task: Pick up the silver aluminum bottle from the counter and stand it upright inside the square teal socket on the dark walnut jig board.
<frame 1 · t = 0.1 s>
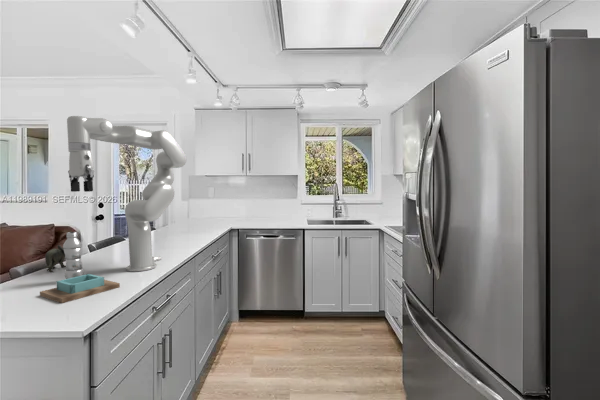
hand: (81, 191, 141), 37 cm above the countertop, tool pointing down, fingers open, 9 cm apart
dinosaur figurine: (54, 270, 165), on the countertop
walnut jig board: (81, 291, 131), on the countertop
silver aluminum bottle: (74, 281, 145), on the countertop
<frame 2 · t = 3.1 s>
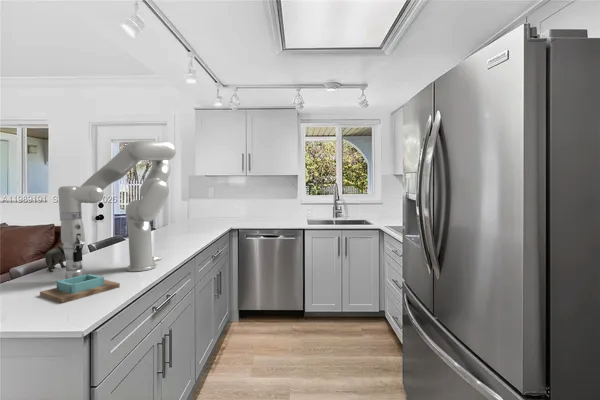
hand: (73, 260, 144), 9 cm above the countertop, tool pointing down, fingers closed on silver aluminum bottle, 6 cm apart
silver aluminum bottle: (74, 281, 145), on the countertop, touching gripper
everything else where it was.
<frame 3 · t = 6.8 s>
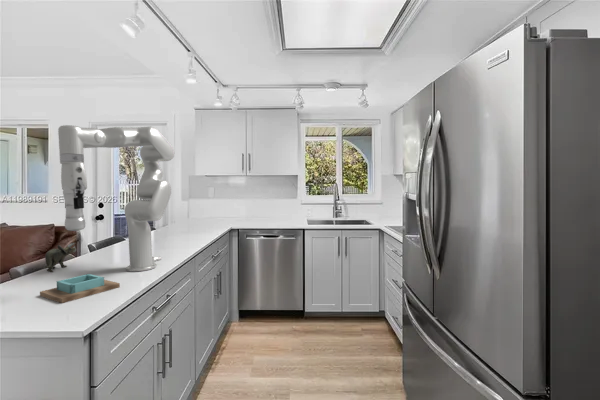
hand: (74, 207, 132), 31 cm above the countertop, tool pointing down, fingers closed on silver aluminum bottle, 6 cm apart
silver aluminum bottle: (75, 231, 132), point 22 cm above the countertop, touching gripper
everything else where it was.
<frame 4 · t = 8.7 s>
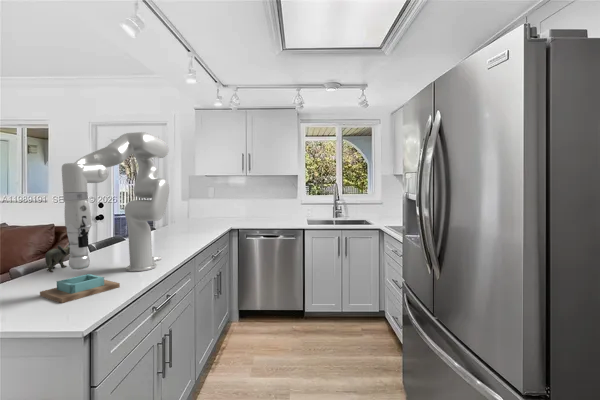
hand: (78, 245, 130), 17 cm above the countertop, tool pointing down, fingers closed on silver aluminum bottle, 6 cm apart
silver aluminum bottle: (79, 269, 130), point 8 cm above the countertop, touching gripper
everything else where it was.
when the fingers open (11 cm above the countertop, at t = 10.3 s): silver aluminum bottle drops 1 cm, resting on walnut jig board.
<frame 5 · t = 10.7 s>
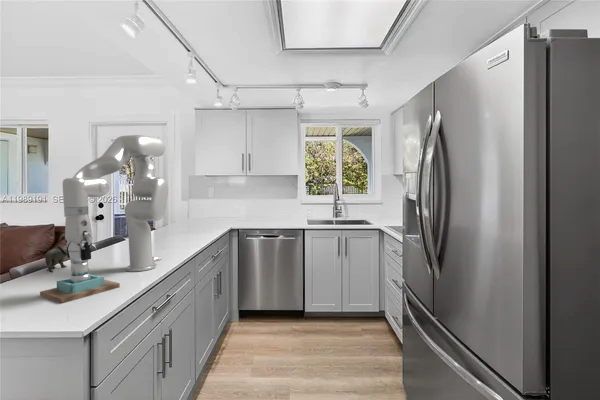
hand: (79, 258, 130), 12 cm above the countertop, tool pointing down, fingers open, 9 cm apart
silver aluminum bottle: (80, 287, 131), point 1 cm above the countertop, touching walnut jig board
everything else where it was.
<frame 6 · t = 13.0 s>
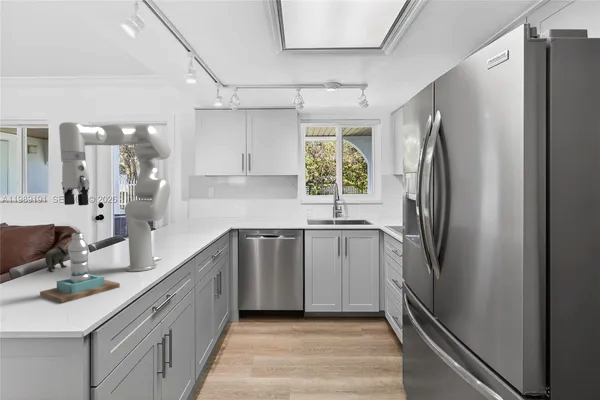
hand: (76, 204, 129), 32 cm above the countertop, tool pointing down, fingers open, 9 cm apart
nothing on the countertop moved.
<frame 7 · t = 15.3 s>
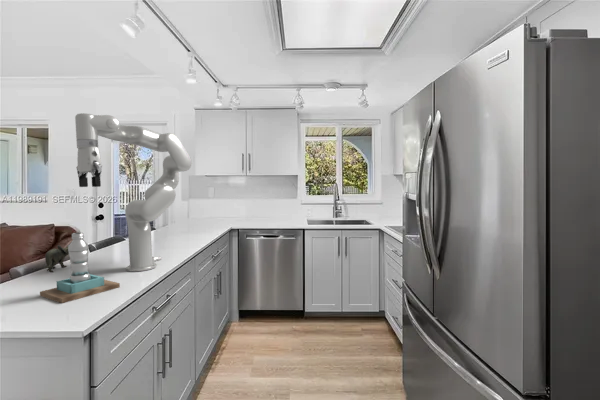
hand: (89, 186, 146), 38 cm above the countertop, tool pointing down, fingers open, 9 cm apart
nothing on the countertop moved.
at the end: silver aluminum bottle 0.1 cm off-centre on the walnut jig board, point 1.3 cm above the walnut jig board's base; silver aluminum bottle tilted 0°; the gripper is holding nothing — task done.
